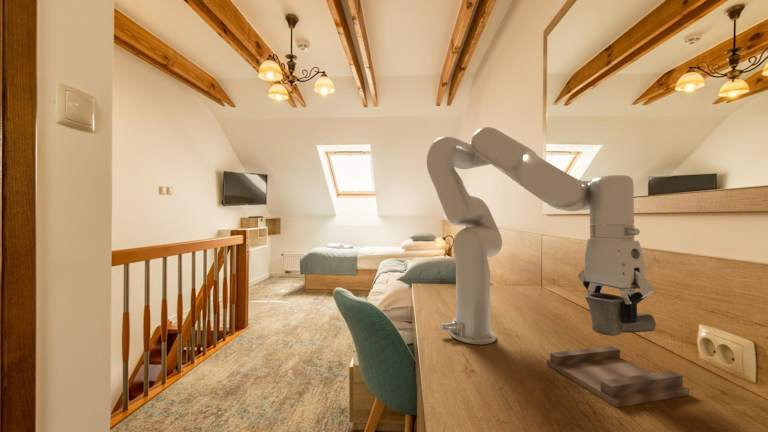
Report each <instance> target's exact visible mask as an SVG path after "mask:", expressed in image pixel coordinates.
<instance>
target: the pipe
mask: <svg viewBox="0 0 768 432" xmlns="http://www.w3.org/2000/svg"><path fill="white" fill-rule="evenodd" d="M584 299H585V300H586V302H587V305H588V309H589V312H590V318H591V329H592V331H593V332H595V333H597V334H600V335H604V336H610V337H611V336H613V337H614V336H620V335H621V334H622V333H623V334H625V333H647V332H654V331H655V329H656V321H655V318H654V317H653V315H652V314H649V313H648V312H647V313H646V312H640V313H638V312H637V319H636V323H628V324H625V323H622V322H621V303H624V300H623V298H622V295H620V296H619V295H615V294H611V293H605V292H601V293H585V295H584Z"/></svg>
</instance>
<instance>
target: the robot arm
mask: <svg viewBox="0 0 768 432" xmlns="http://www.w3.org/2000/svg"><path fill="white" fill-rule="evenodd" d="M489 165H492V166H493V167H494V168H496V169H497V170H499V171H500V172H501V173H503V174H505V175H506V176H507V177H508V178H510V179H511V180H512V181H514V182H516V183H517V184H518V185H520V186H521V187H522V188H523V189H525V190H526V191H528V192H529V193H530V194H532V195H533V196H535V197H536V198H538V199H539V200H541V201H542V202H544V203H546V204H547V205H548V206H550V207H552V208H554V209H555V210H560V211H566V212H579V211H580V212H581V211H585V210H589V238H588V239H587V243H586V247H585V254H584V265H583V266H584V268H583V269H582V270H581V271H580V272H579V273H578V275H577V278H578V279H579V280H580V282H581V283H582V285H583V287H584V288H585V289H586V294H588V293H603V290H604V287H609V288H614V289H618V290H619V293H620V294H621V295H620V296H621V297H622V298H623V300H624V303H621V322H622V323H625V324H628V323H636V319H637V313H638V304H641V301H643V300H644V299H646V298H647V297H648V296H651V294H653V293H654V292H656V289H655V287H653V285H652V284H651V283H650V282H649V281H648V280H647V278H646V267H645V260H644V255H643V250H642V247H641V243H640V241H639V240H635V236H639V235H640V233H641V231H640V229H639V228H635V218H634V217H635V210H634V208H635V205H634V202H635V200H634V199H635V197H634V195H635V194H634V193H635V192H634V191H635V190H634V180H633V179H632V178H631V177H630V176H628V175H623V174H615V175H614V174H612V175H604V176H597V177H595V178H593V179H592V180H581V179H578V178H576V177H574V176H572V175H571V174H569V173H566V172H565V171H563V170H562V169H560V168H558V167H556V166H555V165H553V164H551V163H550V162H548V161H546V160H545V159H544V158H542V157H541V156H539V155H537V153H536V151H534V150H533V149H531V148H530V147H528V146H527V145H525V144H523V143H521V142H519V141H517V140H516V139H514V138H512V137H510V136H509V135H508V134H505V133H503V132H502V131H501V130H498V129H497V128H494V127H489V126H486V127H481V128H479V129H478V130H476V131H475V132H474V134H473V136H472V137H471V141H470V142H469V143H467V142H465V141H463V140H461V139H458V138H456V137H453V136H441V137H437V139H435V140H434V141H433V143H432V144H431V145H430V147H429V149H428V151H427V156H426V167H427V172H428V175H429V177H430V180H431V182H432V184H433V186H434V188H435V191H436V194H437V196H438V199H439V202H440V205H441V207H442V209H443V211H444V215H445V217H446V219H447V220H448V222H449V223H450V224H452V225H455V226H465V228H462V229H460V230H458V232H457V233H456V234H455V237H454V238H453V245H452V247H453V248H452V249H453V255H454V261H455V262H454V263H455V283H456V284H455V317H453V318H452V320H451V321H449V322H441V323H440V324H439V328H440V331H448V332H449V334H450V336H451V337H452V338H453V339H455V340H457V341H460V342H462V343H467V344H471V345H489V344H492V343H493V342H495V341H496V340H497V339H496V338H497V335H496V333H495V332H494V331H493V330H492V329H491V271H490V266H489V260H488V258H491V257H494V256H496V255H497V254H499V252H500V251H501V249H502V246H503V239H502V234H501V233H500V230H499V228H498V226H497V224H496V222H495V220H494V217H493V215H492V213H491V211H490V208H489V207H488V205H487V203H486V202H485V201H484V200H483V199H481V198H480V197H478V196H473V195H470V194H469V192H468V191H467V188H466V186H465V185H464V182H463V179H462V178H461V176H460V174H458V172H457V170H456V168H457V169H460V170H468V169H469V170H470V169H475V168H479V167H484V166H489Z"/></svg>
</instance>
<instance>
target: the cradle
mask: <svg viewBox="0 0 768 432" xmlns="http://www.w3.org/2000/svg"><path fill="white" fill-rule="evenodd" d="M549 353H550V355H549V356H550V357H549V359H546V366H548V367H550V368H551V369H553V370H554V371H557V372H558V373H560V374H561V375H563V376H565V377H566V378H568V379H569V380H571V381H573V382H574V383H576V384H577V385H579V386H580V387H582V388H584V389H585V390H587V391H589V392H590V393H592V394H594V395H595V396H597V397H599V398H601V399H602V400H603V401H605V402H607V403H609V404H610V405H611V406H613V407H616V408H622V407H629V406H634V405H639V404H644V403H645V404H647V403H653V402H657V401H662V400H668V399H674V398H681V397H685V396H689V395H690V388H689V387H686V386H684V385H683V384H684V383H683V380H684V379H683V374H680V373H678V372H674V371H673V370H666V371H665V370H664V371H658V372H652V371H650V370H648V369H646V368H644V367H643V366H642V367H641V366H640V365H638V364H634V363H632V362H631V361H628V360H625V359H624V358H621V349H620V348H618V347H615V346H613V345H609V346H600V347H592V348H590V347H589V348H581V349H573V350H564V351H563V350H562V351H554V352H549Z"/></svg>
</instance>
